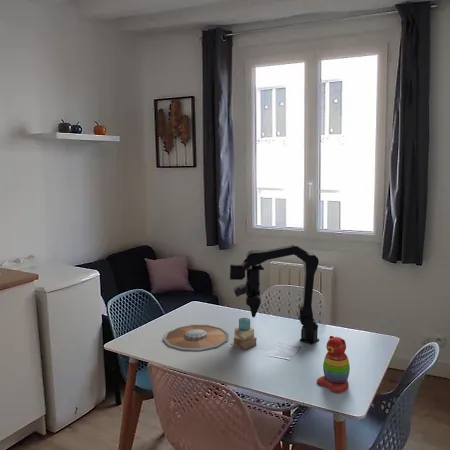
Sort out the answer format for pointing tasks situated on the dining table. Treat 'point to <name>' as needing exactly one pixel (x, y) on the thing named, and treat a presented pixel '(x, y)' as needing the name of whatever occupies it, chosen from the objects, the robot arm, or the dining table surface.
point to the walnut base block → (245, 343)
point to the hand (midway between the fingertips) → (253, 313)
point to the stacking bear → (335, 366)
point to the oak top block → (244, 334)
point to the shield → (196, 337)
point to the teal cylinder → (244, 324)
